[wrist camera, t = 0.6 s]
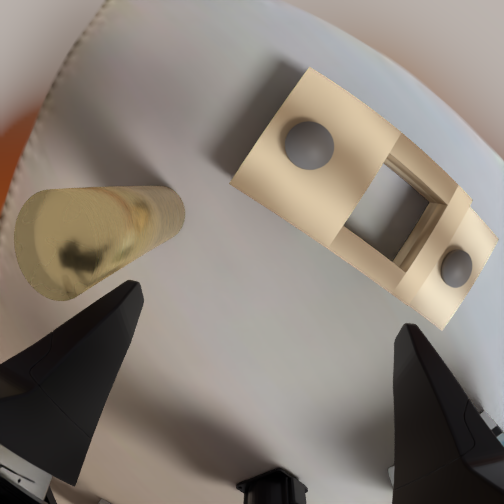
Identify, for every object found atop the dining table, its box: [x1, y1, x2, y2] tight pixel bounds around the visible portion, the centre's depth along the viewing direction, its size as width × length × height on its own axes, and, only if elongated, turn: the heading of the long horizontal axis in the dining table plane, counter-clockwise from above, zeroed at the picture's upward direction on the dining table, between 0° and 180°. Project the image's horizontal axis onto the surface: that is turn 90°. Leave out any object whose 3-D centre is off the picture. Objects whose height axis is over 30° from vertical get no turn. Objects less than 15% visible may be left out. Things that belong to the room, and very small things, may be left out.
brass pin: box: [14, 186, 185, 301], centre depth 17 cm, size 4×4×14 cm
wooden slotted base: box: [229, 67, 499, 330], centre depth 22 cm, size 10×22×4 cm, turn 57°
